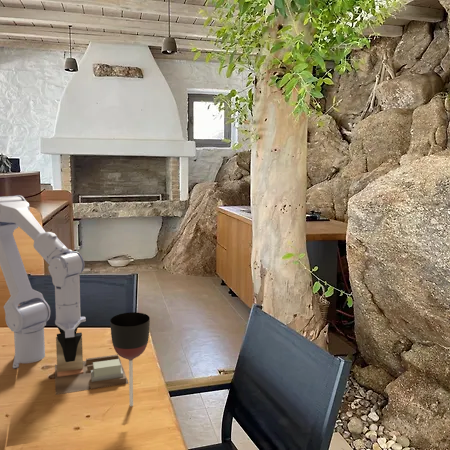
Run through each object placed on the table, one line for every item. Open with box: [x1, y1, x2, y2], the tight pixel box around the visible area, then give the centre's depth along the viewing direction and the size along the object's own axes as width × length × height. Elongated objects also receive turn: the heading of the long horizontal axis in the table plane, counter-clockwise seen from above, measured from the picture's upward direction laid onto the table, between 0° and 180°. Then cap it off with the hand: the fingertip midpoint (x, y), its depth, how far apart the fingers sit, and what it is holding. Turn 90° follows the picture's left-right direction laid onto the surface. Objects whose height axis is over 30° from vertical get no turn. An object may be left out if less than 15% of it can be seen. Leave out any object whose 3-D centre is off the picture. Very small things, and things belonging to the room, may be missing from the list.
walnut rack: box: [54, 354, 129, 396], centre depth 110 cm, size 16×16×2 cm
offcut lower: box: [91, 368, 123, 382], centre depth 107 cm, size 4×7×2 cm, turn 111°
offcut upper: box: [93, 359, 121, 377], centre depth 107 cm, size 4×6×2 cm, turn 111°
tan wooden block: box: [55, 336, 84, 372], centre depth 112 cm, size 2×6×8 cm, turn 111°
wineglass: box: [109, 311, 151, 407], centre depth 95 cm, size 8×9×20 cm
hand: (69, 355), depth 112 cm, fingers open, 6 cm apart
